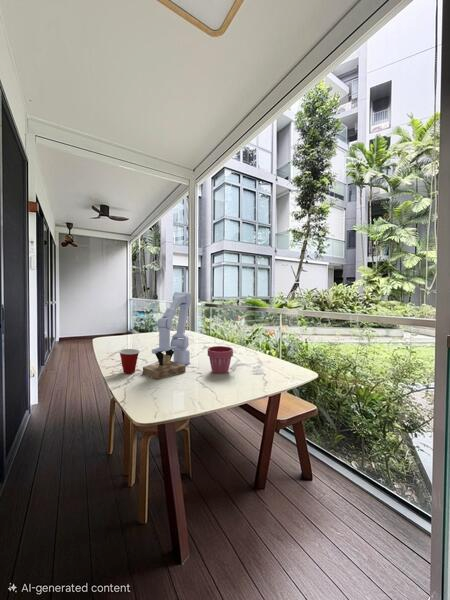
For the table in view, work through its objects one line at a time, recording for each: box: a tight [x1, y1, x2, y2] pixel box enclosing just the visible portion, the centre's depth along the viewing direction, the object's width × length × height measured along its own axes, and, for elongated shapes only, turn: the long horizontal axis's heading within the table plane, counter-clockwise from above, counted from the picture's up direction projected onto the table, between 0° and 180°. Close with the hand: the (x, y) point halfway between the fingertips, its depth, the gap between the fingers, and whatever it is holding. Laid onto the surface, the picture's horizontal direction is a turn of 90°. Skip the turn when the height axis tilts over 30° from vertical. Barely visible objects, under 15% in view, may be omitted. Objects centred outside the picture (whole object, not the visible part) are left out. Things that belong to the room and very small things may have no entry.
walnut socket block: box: [142, 360, 187, 380], centre depth 144 cm, size 18×14×4 cm
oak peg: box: [160, 353, 171, 368], centre depth 143 cm, size 4×4×8 cm
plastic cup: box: [118, 348, 141, 375], centre depth 144 cm, size 11×11×12 cm
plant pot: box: [207, 345, 234, 375], centre depth 146 cm, size 14×14×13 cm
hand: (164, 364), depth 143 cm, fingers closed on oak peg, 4 cm apart
